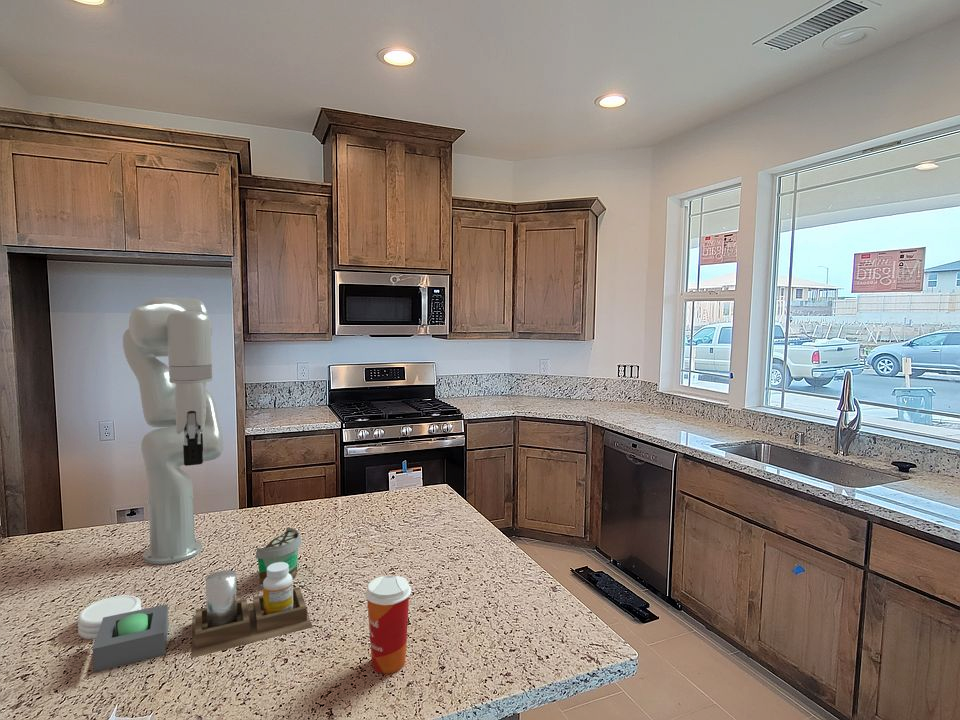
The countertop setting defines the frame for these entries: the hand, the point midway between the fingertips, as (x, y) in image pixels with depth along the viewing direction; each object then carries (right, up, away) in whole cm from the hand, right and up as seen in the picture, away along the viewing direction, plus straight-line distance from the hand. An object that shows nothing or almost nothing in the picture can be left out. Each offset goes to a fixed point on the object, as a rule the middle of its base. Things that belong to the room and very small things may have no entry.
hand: (194, 458), depth 106 cm
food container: (+14, -30, +11) cm, 35 cm away
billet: (+10, -30, -8) cm, 33 cm away
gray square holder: (-3, -32, -14) cm, 34 cm away
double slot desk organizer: (+14, -31, -6) cm, 35 cm away
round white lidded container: (-13, -31, -5) cm, 34 cm away
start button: (-3, -30, -14) cm, 33 cm away
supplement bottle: (+18, -30, -3) cm, 35 cm away
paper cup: (+42, -32, -16) cm, 55 cm away
